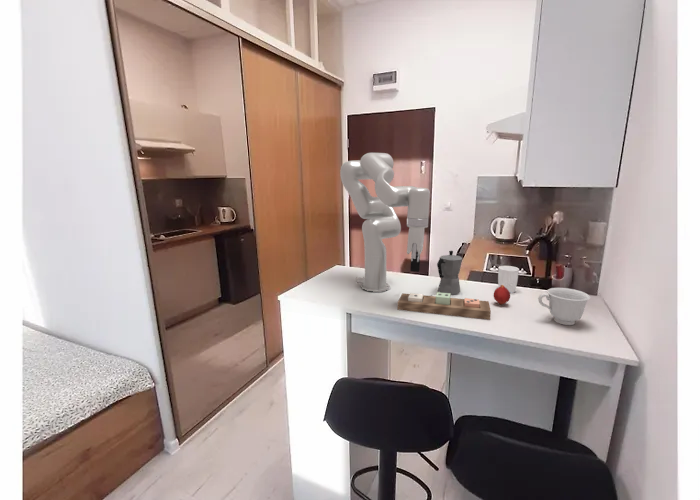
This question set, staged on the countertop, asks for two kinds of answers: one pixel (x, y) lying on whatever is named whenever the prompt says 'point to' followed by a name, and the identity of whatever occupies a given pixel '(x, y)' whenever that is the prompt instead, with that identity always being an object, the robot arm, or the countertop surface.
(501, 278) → the white cup
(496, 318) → the countertop surface
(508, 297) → the pomegranate
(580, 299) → the teacup
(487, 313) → the button panel
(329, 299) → the countertop surface
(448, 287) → the coffeepot
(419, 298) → the button one
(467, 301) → the button three
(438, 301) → the button two
